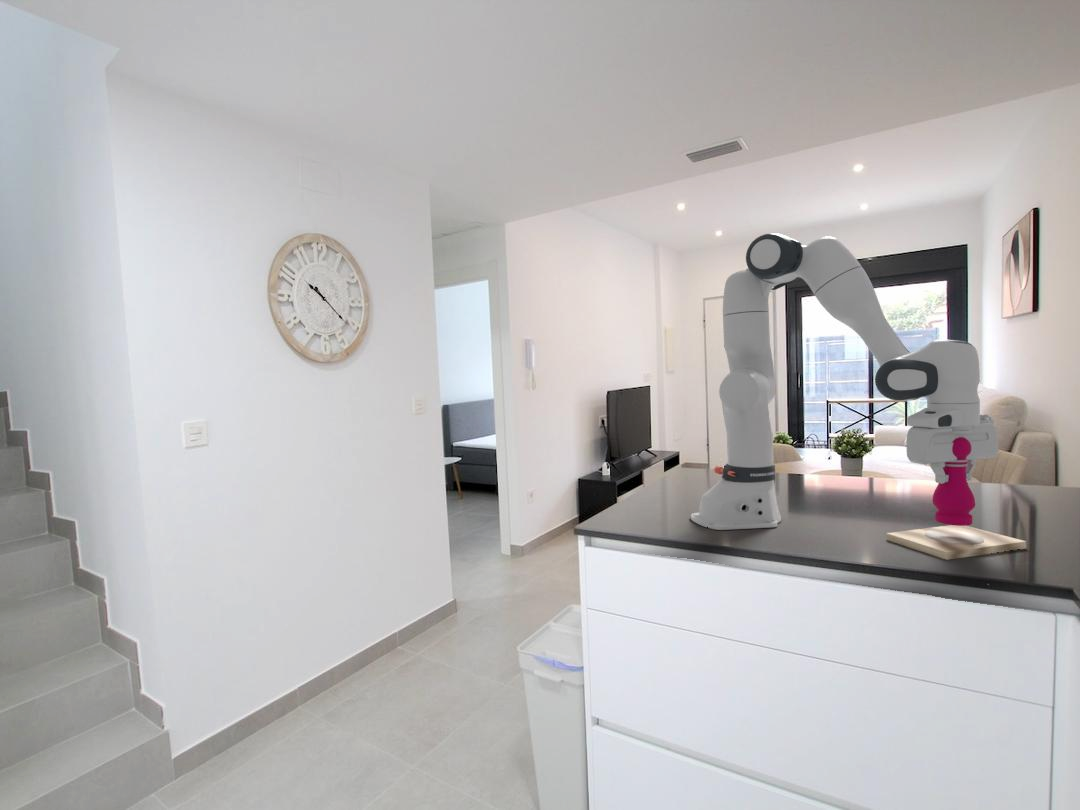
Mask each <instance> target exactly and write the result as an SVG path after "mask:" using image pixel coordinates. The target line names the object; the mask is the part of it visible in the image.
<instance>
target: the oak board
mask: <svg viewBox="0 0 1080 810" xmlns="http://www.w3.org/2000/svg"><path fill="white" fill-rule="evenodd" d="M886 540H887V541H888V542H892V543H894V544H898V545H901V546H904V547H907V548H910V549H913V550H916V551H919V552H922V553H925V554H928V555H931V556H934V557H937V558H940V559H943V560H946V561H948V560H955V559H963V558H969V557H971V558H972V557H976V556H983V555H991V553H992V554H997V552H999V553H1004V551H1006V552H1011V551H1010V550H1013V551H1018V550H1017V549H1020V550H1026V549H1027V541H1026V540H1024V539H1023V540H1022V539H1019V538H1014V537H1012V536H1007V535H1003V534H999V533H995V532H992V531H987V530H984V529H980V528H976V527H973V526H970V525H967V526H957V525H948V524H947V525H940V526H933V527H926V528H917V529H909V530H900V531H893V532H886Z"/></svg>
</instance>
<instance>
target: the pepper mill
mask: <svg viewBox="0 0 1080 810" xmlns="http://www.w3.org/2000/svg"><path fill="white" fill-rule="evenodd" d="M952 443H953V447H952V452H953V454H954V455H955V456H956V457H957V460H955V461H952V462H945V467H943V470H944V472H945V474H946V475H949V479H948V480H949V482H948V483H944V484H941V483H937V486H936V487H935V489H934V491H933V495H932V499H931V500H932V505H934V506H935V508H936V509H937V511H935V514H934V515H935V517H934V519H935V521H936V522H938V523H940V524H944V525H947V526H948V525H957V526H971V525H973V515H972V514H971V513H970V512H971V511H972V510H973V509H975V507H976V498H975V496H974V493H973V492H972V490H971V488H970V485H969V484H968V481H967V480H966V473H965V472H966V466H968V459H966V457H967V456H968V455H969V454H970V453H971V444H970V442H969V441H968V440H967V439H966V438H963V437H959V438H956V439H955V440H953V442H952Z"/></svg>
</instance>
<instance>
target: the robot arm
mask: <svg viewBox="0 0 1080 810" xmlns="http://www.w3.org/2000/svg"><path fill="white" fill-rule="evenodd" d="M745 263H746V265H747V268H746V269H743V270H739V271H735V272H734V273H732V274H730V275H729V276H728V277H727V278H726V281H725V283H724V289H723V290H724V291H723V298H722V325H723V326H722V327H723V331H722V332H723V347H724V350H725V354H726V357H727V363H728V368H729V373H728V374H727V375H726V376H725V377H724V378H723V380H722V381H721V383H720V385H719V390H718V392H719V393H718V394H719V398H720V401H721V409H722V416H723V420H724V425H725V431H726V446H727V447H726V450H727V452H726V453H727V464H725V467H723V466H720V465H716V466H714V467H713V473H715V474H718V475H721V479H720V480H718V481H717V483H715V484H714V485H713V486H712V487H710V489H709V490H707V491H706V492H705V493H703V495H702V496H701V498H700V502H699V512H693V513H691V514H690V520H691V521H692V522H693V523H695V524H698V525H700V526H702V527H705V528H707V527H708V528H707V529H710V530H717V531H726V530H727V531H728V530H748V529H763V528H764V529H766V528H767V529H768V528H777V527H778V523H780V522H781V521H782V516H781V513H780V511H779V506H778V503H777V501H778V500H777V496H776V495H777V494H776V488H775V483H776V479H777V478H776V465H775V464H774V445H773V444H774V443H773V441H774V440H773V439H774V437H773V436H774V435H773V432H772V424H771V420H770V419H771V418H770V412H769V410H770V409H769V404H770V403H771V402H772V401H773V399H774V398H775V394H776V380H775V378H776V377H775V369H774V362H773V353H772V349H771V336H770V335H771V332H770V315H769V314H770V308H769V296H770V292H771V291H776V290H778V289H781V288H782V287H785V286H787V285H790V284H791V283H792V284H793V283H794V282H795V281H797V280H799V279H802V280H803V281H804V282H805V283H806V284H807V285H808V287H809V288H810V290H811V292H812V293H813V295H814V296H815V298H816V300H817V301H818V302H819V304H820V305H821V306H822V307H823V308H824V309H825V311H827V313H829V315H830V316H831V317H833V318H834V319H835V320H837V321H838V322H841V323H842V324H844V325H845V326H848V328H850V329H851V330H853V331H854V332H855V333H856V334H857V335H858V336H859V337H860V339H862V342H863V343H864V344H865V345H866V347H867V348H868V349H869V351H870V353H871V354H872V355H873V357H874V358H875V360H876V362H877V363H878V364H879V368H878V369H877V370H876V374H875V378H874V383H875V386H876V389H877V391H878V392H879V393H880V394H881V395H882V396H884V397H885V398H887V399H889V400H892V401H894V402H908V401H915V400H919V399H921V398H925V399H926V402H927V403H926V407H924V408H922V409H921V410H919V411H917V412H915V413H913V414H911V415H909V416H907V417H906V421H907V422H906V424H907V426H909V427H910V428H909V429H908V431H907V432H906V433H907V434H906V457H907V459H908V460H909V461H910V463H913V464H921V465H929V466H930V468H931V470H932V472H933V474H934V475H935V476H934V477H935V478H934V479H935V480H934V481H935V482H936V483H937V484H939V483H941V484H944V483H948V482H949V480H948V479H949V475H946V474H945V472H944V470H943V467H945V462H952V461H955V460H957V457H956V456H955V455H954V454H953V452H952V447H953V443H952V442H953V440H955V439H956V438H959V437H963V438H966V439H967V440H968V441H969V442H970V444H971V453H970V454H969V455H968V456H967V457H966V459H968V466H966V472H965V473H966V480H967V482H970V481H972V475H973V471H974V470H975V468H976V466H977V460H982V459H992V458H996V457H997V455H998V454H999V450H1000V449H999V440H998V432H997V429H996V427H995V425H994V419H992V417H990V416H989V414H987V413H986V414H985V413H982V414H981V405H980V403H981V399H980V398H979V397H980V396H979V394H978V387H979V384H980V382H981V381H980V380H981V379H980V378H981V376H980V374H981V373H980V370H981V369H980V361H979V354H978V351H977V349H976V347H975V346H974V345H973V344H972V343H970V342H968V341H965V340H956V339H947V338H946V339H942V338H941V339H940V338H938V339H933V340H931V341H930V342H929V343H927V344H926V345H924V346H922V347H920V348H918V349H916V350H914V351H912V352H910V351H909V350H908V349H907V348H906V346H905V345H904V344H903V342H902V341H901V339H900V337H899V336H898V335H897V334H896V332H895V331H894V330H893V328H892V327H891V326H892V325H890V323H889V322H888V321H887V319H886V317H885V315H884V312H883V310H882V307H881V305H880V301H879V299H878V296H877V293H876V290H875V289H874V286H873V284H872V283H873V282H871V280H870V277H869V276H868V274H867V272H866V271H865V269H864V267H862V265H861V263H860V262H859V260H858V259H857V258H856V256H854V255H853V253H852V252H851V251H850V249H848V248H847V247H846V246H845V245H844V244H843V243H842V242H841V241H840V240H839V239H837V238H836V237H833V236H824V237H819V238H817V239H815V240H813V241H811V242H810V243H808V244H806V245H803V244H802V243H801V242H800V241H799V240H796V239H794V238H790V237H789V236H787V235H784V234H782V233H776V232H773V233H772V232H771V233H765V234H762V235H760V236H758V237H757V238H755V239H754V240H753V241H752V242H751V243H750V244H749V246H748V248H747V250H746V253H745Z"/></svg>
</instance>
